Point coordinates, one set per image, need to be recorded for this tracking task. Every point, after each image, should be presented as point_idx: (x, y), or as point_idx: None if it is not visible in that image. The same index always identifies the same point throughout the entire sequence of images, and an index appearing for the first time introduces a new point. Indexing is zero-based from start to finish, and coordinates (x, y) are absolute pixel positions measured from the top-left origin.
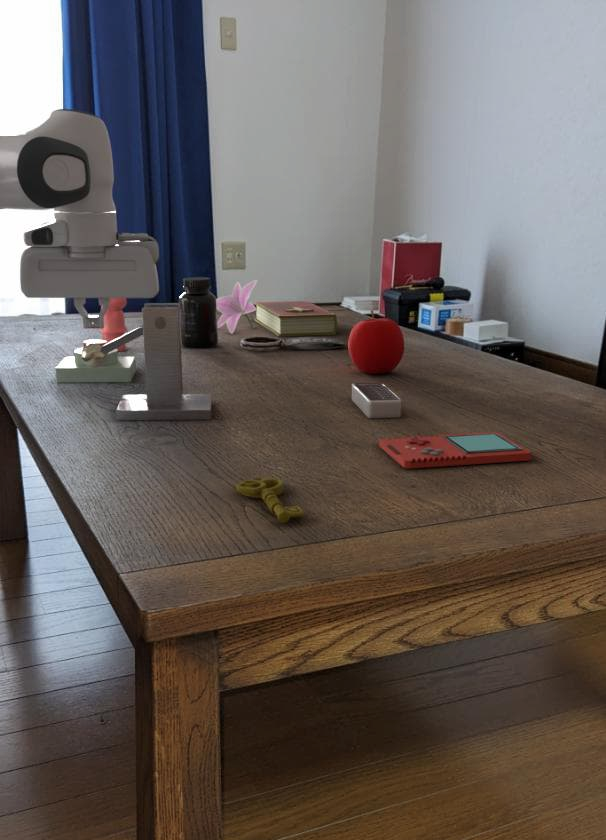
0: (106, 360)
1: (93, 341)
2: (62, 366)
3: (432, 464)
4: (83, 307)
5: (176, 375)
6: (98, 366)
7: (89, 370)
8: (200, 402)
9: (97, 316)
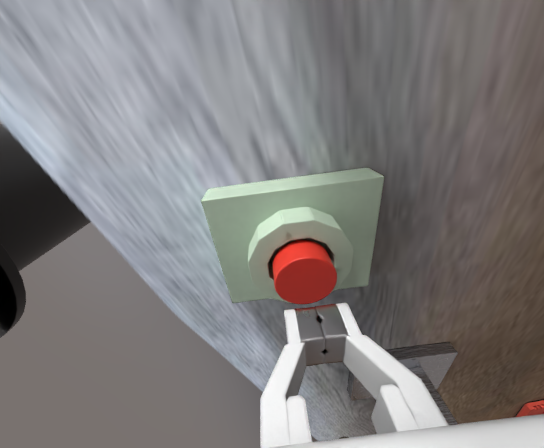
0: None
1: (301, 284)
2: (239, 292)
3: None
4: (292, 381)
5: None
6: None
7: None
8: (435, 376)
9: (341, 353)
